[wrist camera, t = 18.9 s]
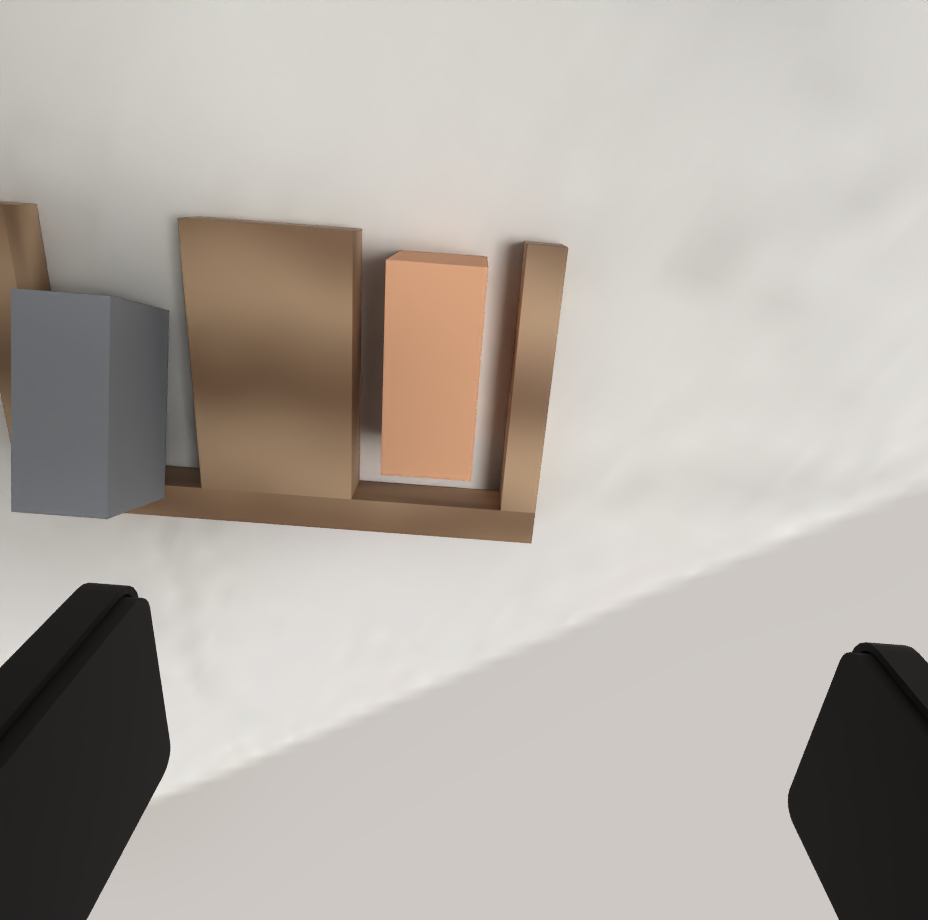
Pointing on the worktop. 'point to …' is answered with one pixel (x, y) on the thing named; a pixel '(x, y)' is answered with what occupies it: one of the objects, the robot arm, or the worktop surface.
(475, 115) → the worktop surface
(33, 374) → the grey stub
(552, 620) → the worktop surface
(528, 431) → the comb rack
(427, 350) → the terracotta stub
